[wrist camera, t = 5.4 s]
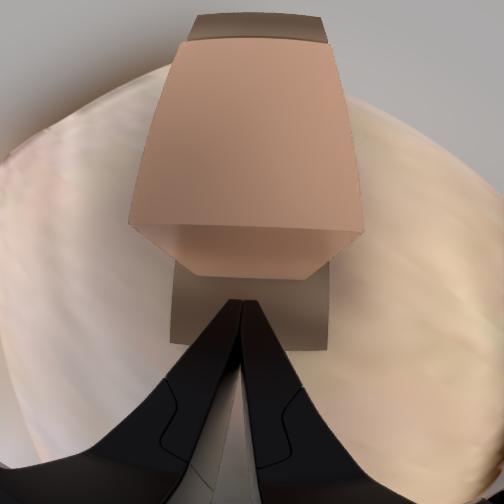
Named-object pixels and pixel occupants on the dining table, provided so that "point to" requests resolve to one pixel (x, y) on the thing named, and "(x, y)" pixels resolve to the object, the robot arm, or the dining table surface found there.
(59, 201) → the dining table surface
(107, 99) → the dining table surface
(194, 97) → the pink box
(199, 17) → the stop block
